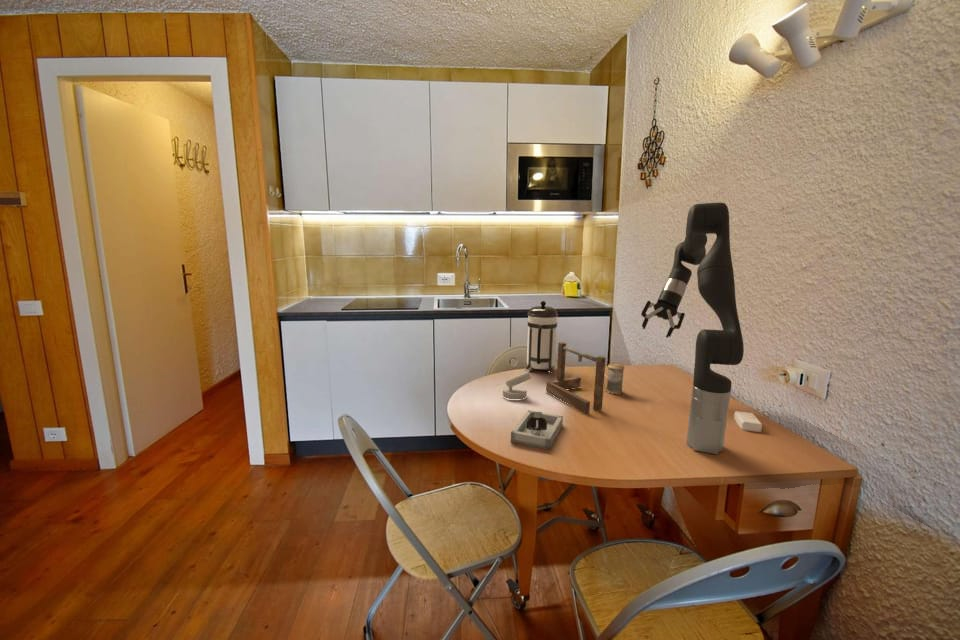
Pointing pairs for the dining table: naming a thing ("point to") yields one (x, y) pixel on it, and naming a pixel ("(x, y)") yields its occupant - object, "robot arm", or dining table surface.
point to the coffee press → (541, 337)
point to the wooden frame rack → (577, 381)
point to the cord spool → (615, 378)
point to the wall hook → (513, 390)
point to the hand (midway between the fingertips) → (655, 332)
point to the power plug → (537, 423)
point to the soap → (748, 421)
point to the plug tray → (545, 441)
